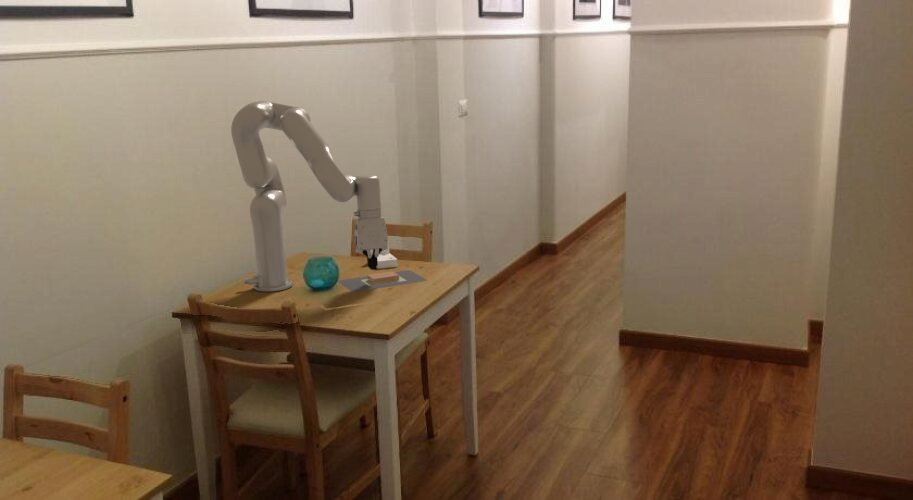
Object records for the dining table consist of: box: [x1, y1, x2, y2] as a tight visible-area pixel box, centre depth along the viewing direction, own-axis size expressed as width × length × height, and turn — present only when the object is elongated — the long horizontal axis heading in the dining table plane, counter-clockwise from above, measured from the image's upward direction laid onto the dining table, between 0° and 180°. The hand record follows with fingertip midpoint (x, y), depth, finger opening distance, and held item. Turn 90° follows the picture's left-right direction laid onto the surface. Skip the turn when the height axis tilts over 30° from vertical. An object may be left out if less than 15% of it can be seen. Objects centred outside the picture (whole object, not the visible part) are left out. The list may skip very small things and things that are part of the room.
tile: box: [366, 270, 399, 284], centre depth 274 cm, size 2×6×9 cm
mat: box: [337, 269, 428, 293], centre depth 274 cm, size 26×16×1 cm, turn 115°
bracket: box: [371, 241, 399, 270], centre depth 296 cm, size 13×7×8 cm, turn 20°
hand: (372, 268), depth 272 cm, fingers closed
